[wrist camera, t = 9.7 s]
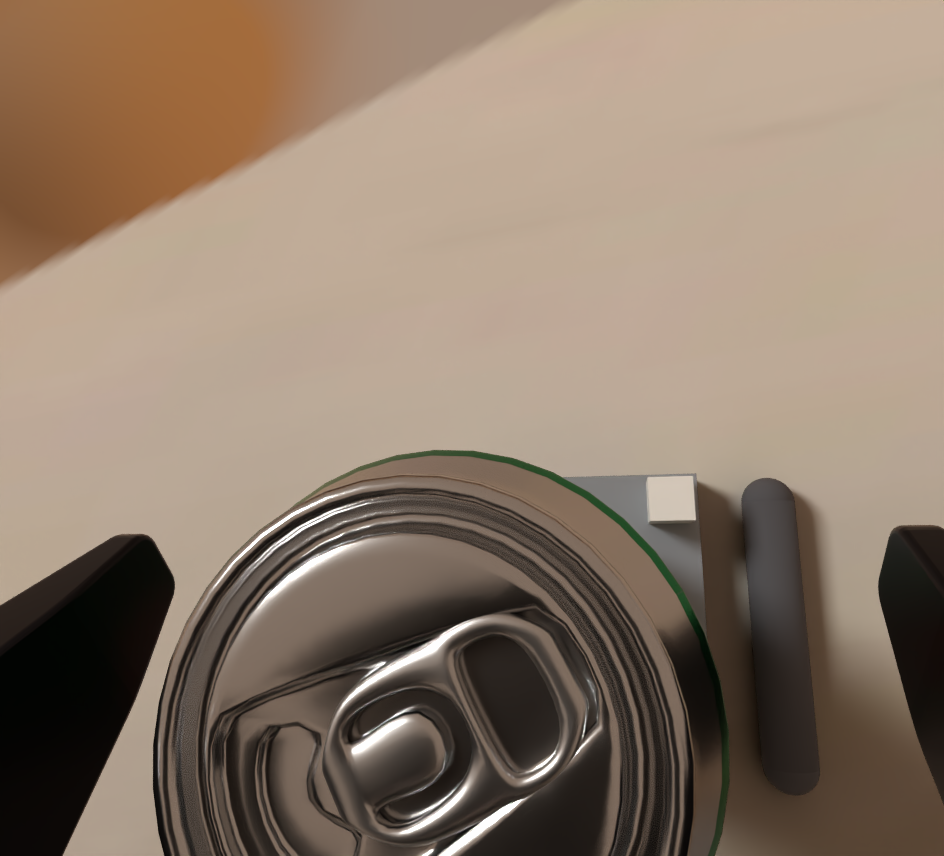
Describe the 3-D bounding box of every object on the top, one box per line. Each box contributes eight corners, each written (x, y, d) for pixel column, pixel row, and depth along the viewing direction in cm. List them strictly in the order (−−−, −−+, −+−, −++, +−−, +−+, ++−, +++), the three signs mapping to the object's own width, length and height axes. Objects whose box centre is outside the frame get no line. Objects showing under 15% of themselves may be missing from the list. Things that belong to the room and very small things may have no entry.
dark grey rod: (814, 787, 16) (829, 805, 15) (760, 783, 16) (769, 800, 15) (785, 480, 17) (797, 474, 16) (735, 481, 18) (743, 475, 16)
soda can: (420, 580, 18) (34, 608, 6) (592, 484, 17) (526, 315, 6) (514, 773, 16) (243, 1282, 5) (704, 673, 16) (921, 966, 4)
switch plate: (711, 771, 16) (724, 801, 14) (428, 754, 18) (402, 780, 16) (692, 478, 18) (701, 466, 15) (430, 485, 19) (406, 475, 17)
